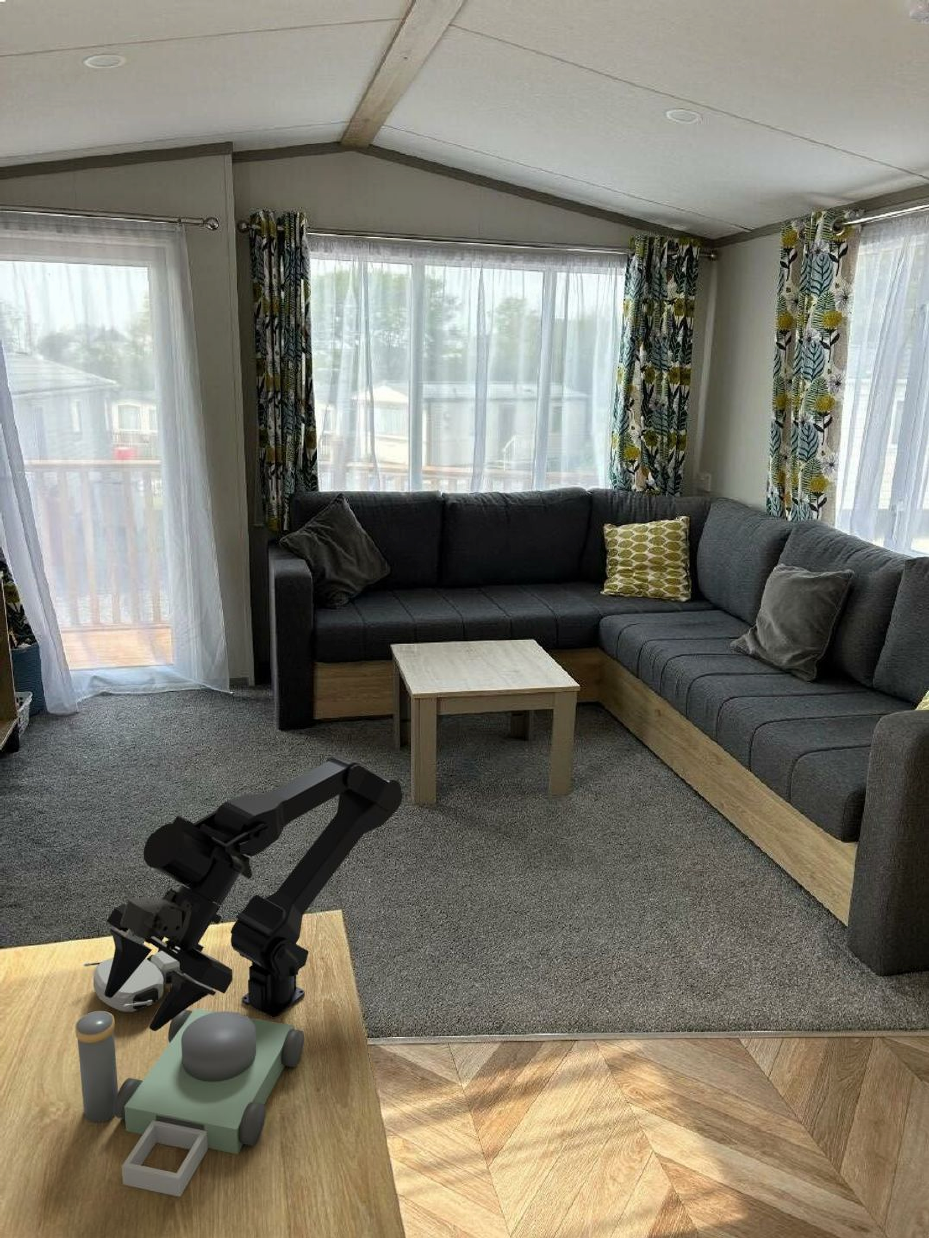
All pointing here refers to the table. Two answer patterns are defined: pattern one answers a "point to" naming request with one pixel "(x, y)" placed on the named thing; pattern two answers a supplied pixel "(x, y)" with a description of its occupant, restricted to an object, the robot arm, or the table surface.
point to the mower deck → (204, 1091)
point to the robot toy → (137, 982)
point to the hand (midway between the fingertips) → (129, 1012)
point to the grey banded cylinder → (97, 1065)
